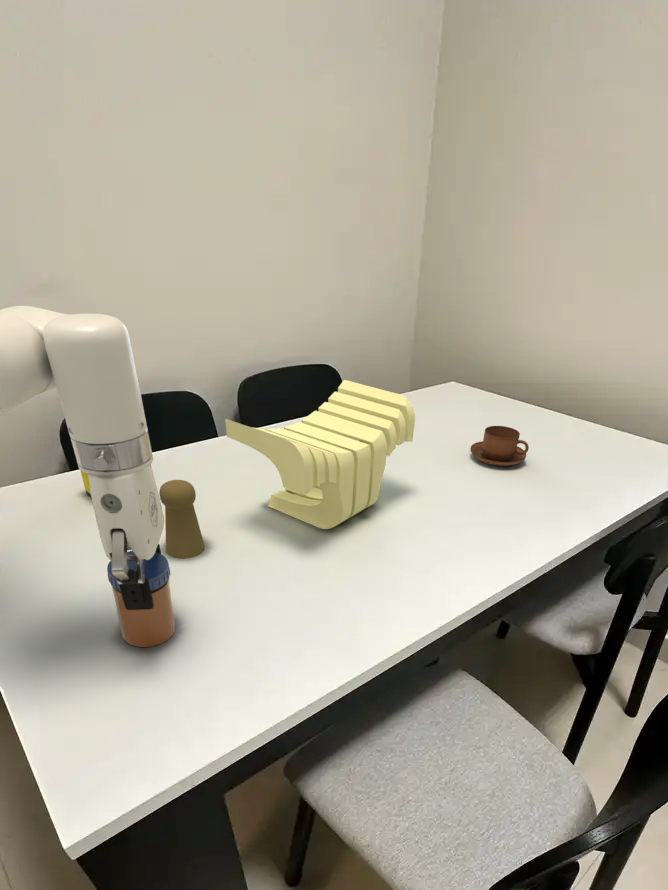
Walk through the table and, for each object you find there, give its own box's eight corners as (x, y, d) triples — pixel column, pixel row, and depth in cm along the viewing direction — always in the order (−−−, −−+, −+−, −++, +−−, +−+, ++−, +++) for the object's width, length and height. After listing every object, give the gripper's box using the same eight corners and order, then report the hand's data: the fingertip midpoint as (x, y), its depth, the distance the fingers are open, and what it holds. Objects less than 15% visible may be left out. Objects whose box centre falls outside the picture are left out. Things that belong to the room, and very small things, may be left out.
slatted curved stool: (305, 555, 92) (305, 445, 81) (233, 523, 99) (225, 418, 88) (406, 493, 112) (417, 399, 101) (340, 470, 119) (344, 379, 108)
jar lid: (165, 594, 68) (163, 582, 67) (102, 593, 67) (99, 581, 66) (174, 562, 73) (172, 550, 72) (116, 560, 72) (114, 548, 71)
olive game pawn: (164, 559, 89) (152, 493, 83) (167, 539, 94) (156, 475, 87) (204, 557, 90) (196, 491, 83) (205, 537, 95) (198, 474, 88)
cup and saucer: (522, 452, 131) (529, 425, 127) (525, 473, 122) (533, 445, 118) (469, 446, 133) (474, 419, 129) (468, 467, 123) (473, 438, 119)
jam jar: (116, 647, 72) (103, 585, 67) (127, 614, 78) (116, 554, 72) (171, 647, 73) (162, 586, 67) (178, 615, 78) (171, 556, 73)
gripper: (133, 483, 54) (166, 632, 65) (163, 420, 68) (186, 552, 78) (49, 485, 53) (97, 635, 64) (97, 420, 67) (129, 553, 78)
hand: (146, 588), depth 71 cm, fingers closed on jar lid, 7 cm apart
